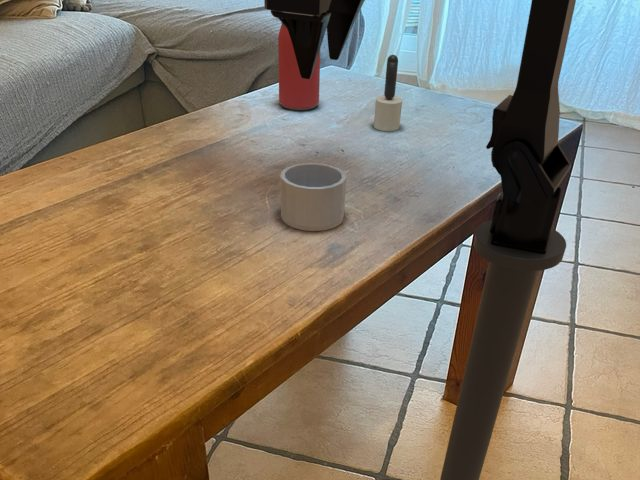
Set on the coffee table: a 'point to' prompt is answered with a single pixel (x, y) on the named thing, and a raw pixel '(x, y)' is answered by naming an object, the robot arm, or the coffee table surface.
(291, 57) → the beer can
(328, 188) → the grey round cup
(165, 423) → the coffee table surface
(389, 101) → the brush
